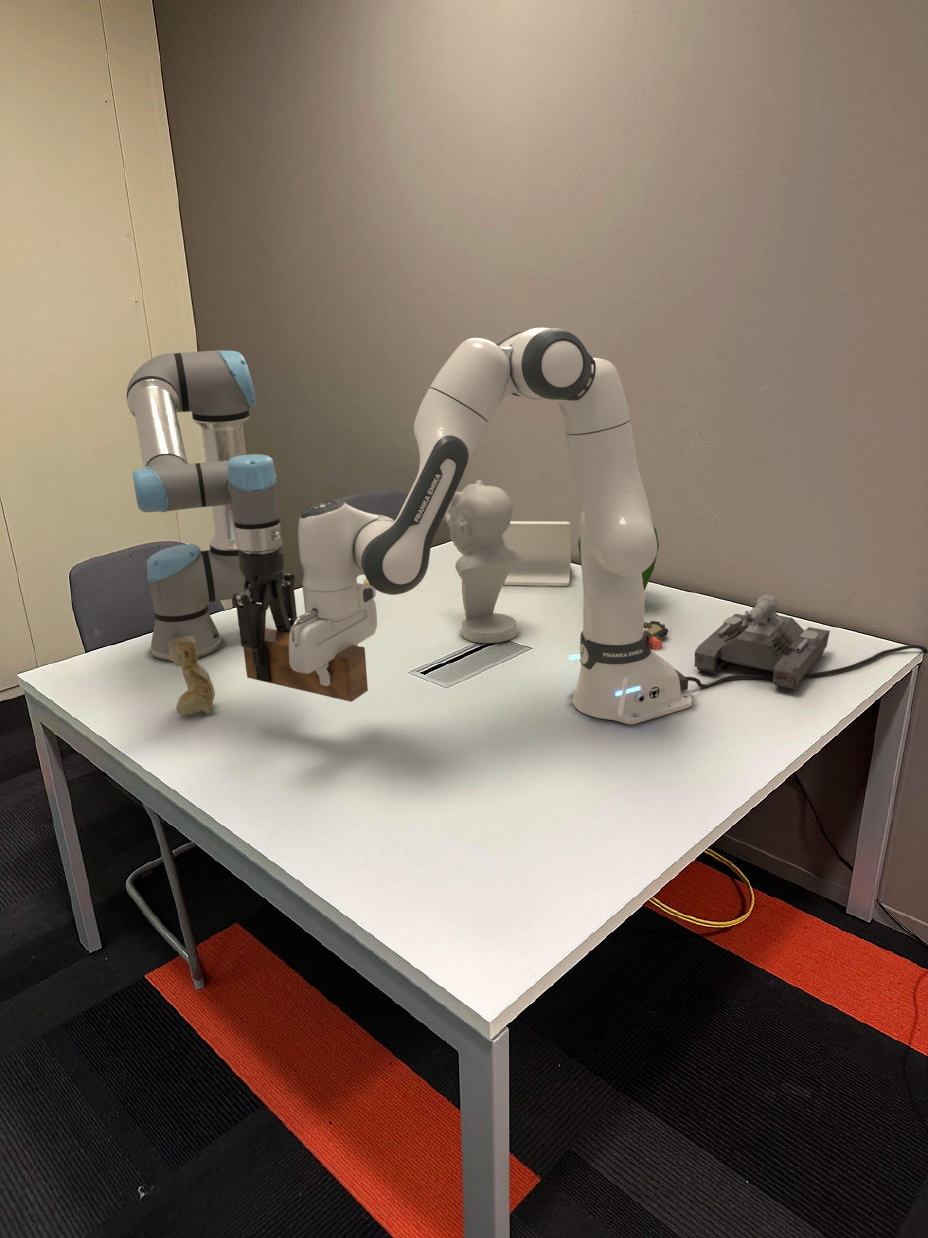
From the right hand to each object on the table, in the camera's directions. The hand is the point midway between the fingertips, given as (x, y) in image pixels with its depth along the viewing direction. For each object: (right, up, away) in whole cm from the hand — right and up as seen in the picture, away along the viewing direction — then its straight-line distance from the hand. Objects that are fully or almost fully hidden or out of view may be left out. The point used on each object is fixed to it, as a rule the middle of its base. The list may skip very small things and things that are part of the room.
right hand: (338, 676), depth 145 cm
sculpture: (-30, -8, +20) cm, 37 cm away
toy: (+84, +1, +33) cm, 90 cm away
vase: (+60, +13, +69) cm, 92 cm away
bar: (-6, -2, +4) cm, 8 cm away
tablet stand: (+39, +22, +94) cm, 104 cm away
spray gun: (+58, +5, +48) cm, 76 cm away
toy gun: (0, +21, +95) cm, 97 cm away
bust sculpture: (+24, +7, +56) cm, 61 cm away
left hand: (-12, 0, +7) cm, 14 cm away
